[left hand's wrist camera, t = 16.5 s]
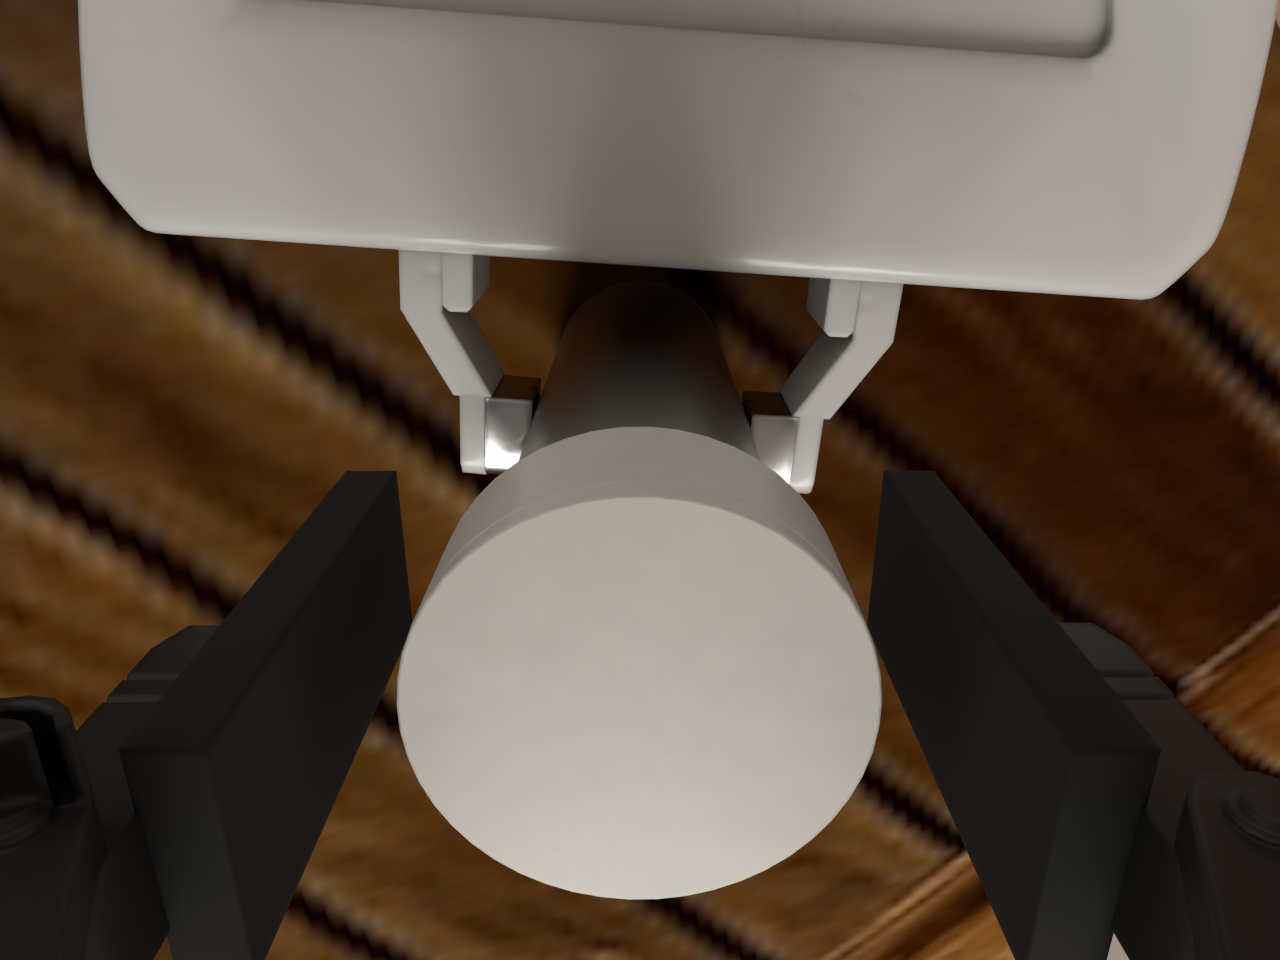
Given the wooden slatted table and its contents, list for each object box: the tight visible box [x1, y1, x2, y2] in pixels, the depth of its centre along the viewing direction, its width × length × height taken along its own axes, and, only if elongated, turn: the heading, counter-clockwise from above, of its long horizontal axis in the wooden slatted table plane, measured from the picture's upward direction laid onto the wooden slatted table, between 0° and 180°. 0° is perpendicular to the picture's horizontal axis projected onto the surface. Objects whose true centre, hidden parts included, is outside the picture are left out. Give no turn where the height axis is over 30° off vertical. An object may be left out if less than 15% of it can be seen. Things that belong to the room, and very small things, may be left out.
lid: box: [397, 427, 882, 899], centre depth 11 cm, size 6×6×2 cm
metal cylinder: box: [518, 280, 761, 461], centre depth 18 cm, size 4×4×15 cm
